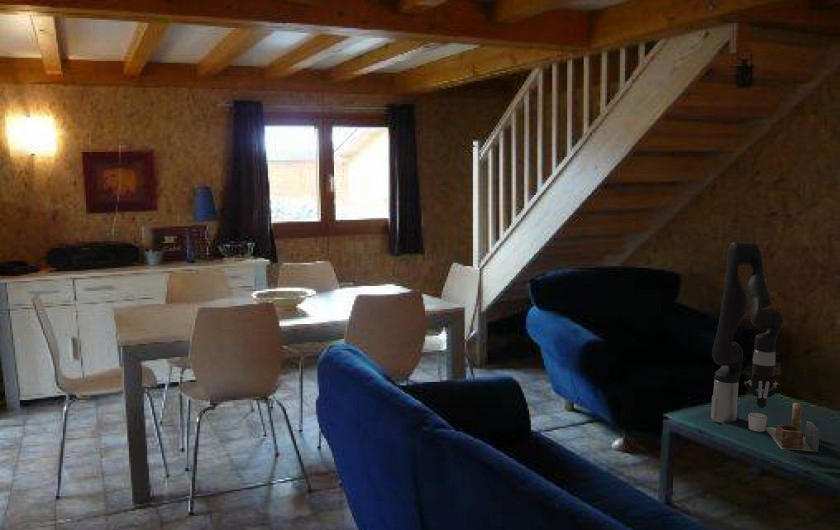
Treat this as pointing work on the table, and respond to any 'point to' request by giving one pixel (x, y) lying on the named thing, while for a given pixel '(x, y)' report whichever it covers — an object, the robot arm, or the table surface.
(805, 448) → the board
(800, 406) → the dowel
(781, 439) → the wooden open box
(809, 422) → the wall
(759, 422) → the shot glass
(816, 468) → the table surface
